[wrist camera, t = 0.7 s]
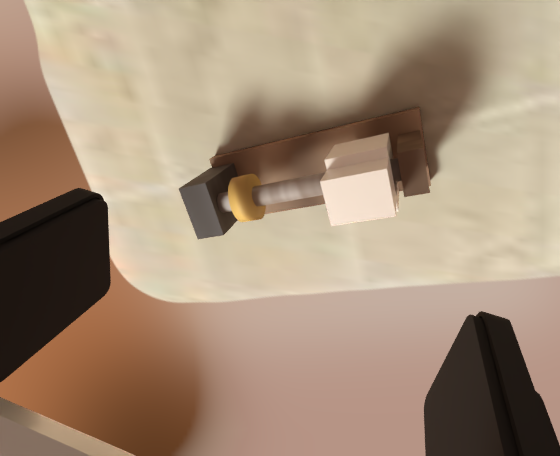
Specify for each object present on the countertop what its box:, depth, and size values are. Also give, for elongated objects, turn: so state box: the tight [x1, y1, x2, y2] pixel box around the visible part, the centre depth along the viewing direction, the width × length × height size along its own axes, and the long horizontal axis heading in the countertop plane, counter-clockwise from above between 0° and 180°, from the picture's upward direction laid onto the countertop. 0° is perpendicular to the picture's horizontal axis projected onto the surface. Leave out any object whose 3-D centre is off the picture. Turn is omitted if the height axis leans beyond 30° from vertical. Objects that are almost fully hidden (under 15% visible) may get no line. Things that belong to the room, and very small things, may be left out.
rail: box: [179, 107, 431, 239], centre depth 31 cm, size 18×6×7 cm, turn 106°
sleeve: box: [320, 133, 399, 226], centre depth 27 cm, size 4×4×7 cm
